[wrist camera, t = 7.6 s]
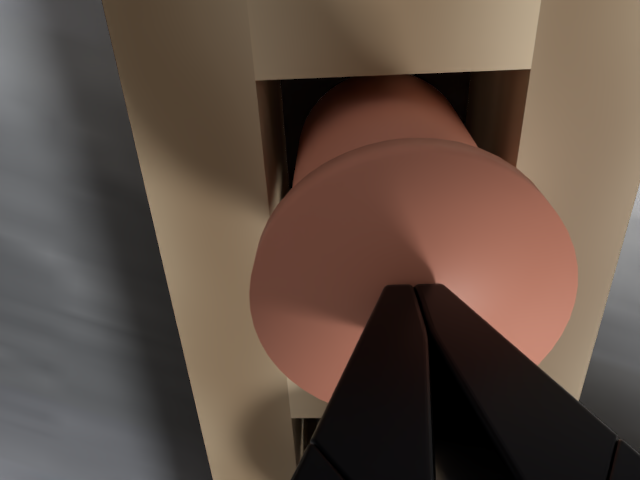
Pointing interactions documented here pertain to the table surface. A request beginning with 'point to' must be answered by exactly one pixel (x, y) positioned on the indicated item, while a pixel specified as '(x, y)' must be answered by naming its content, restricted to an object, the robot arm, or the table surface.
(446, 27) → the socket block
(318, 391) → the salmon plug
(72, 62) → the table surface
